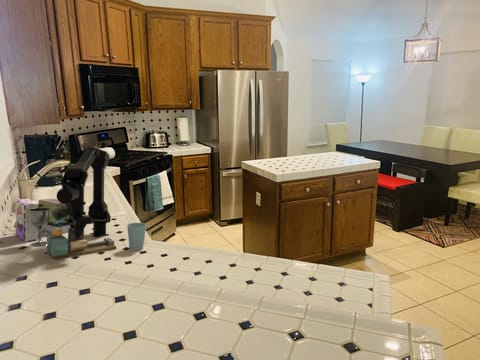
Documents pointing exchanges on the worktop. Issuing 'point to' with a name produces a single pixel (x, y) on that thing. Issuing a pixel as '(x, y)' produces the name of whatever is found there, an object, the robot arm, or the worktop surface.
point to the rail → (60, 249)
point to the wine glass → (39, 221)
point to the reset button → (56, 232)
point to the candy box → (25, 220)
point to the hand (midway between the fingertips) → (76, 237)
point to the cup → (136, 235)
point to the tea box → (53, 223)
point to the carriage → (76, 241)
